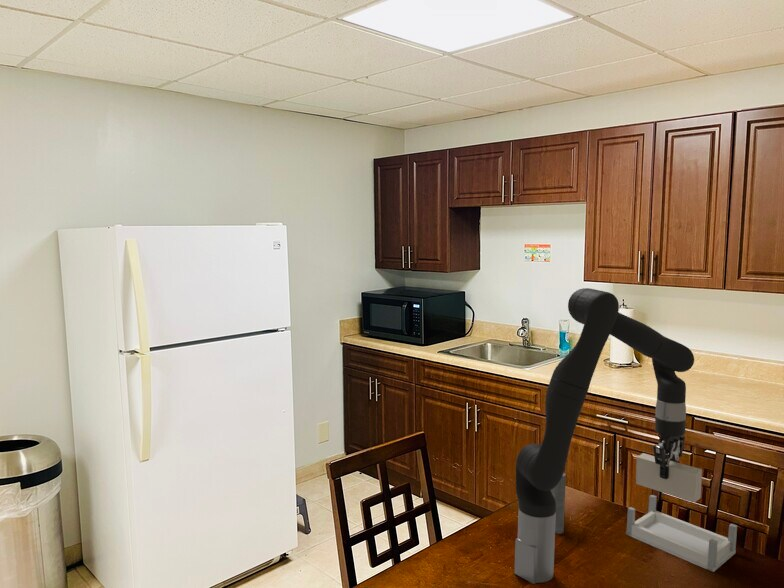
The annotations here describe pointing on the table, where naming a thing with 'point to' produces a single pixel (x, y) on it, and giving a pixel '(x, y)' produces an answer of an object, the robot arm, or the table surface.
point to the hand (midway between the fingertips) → (668, 475)
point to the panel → (680, 480)
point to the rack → (682, 537)
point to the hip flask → (560, 504)
